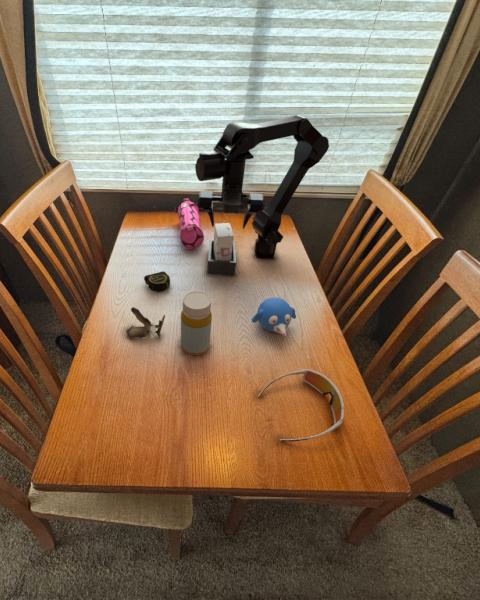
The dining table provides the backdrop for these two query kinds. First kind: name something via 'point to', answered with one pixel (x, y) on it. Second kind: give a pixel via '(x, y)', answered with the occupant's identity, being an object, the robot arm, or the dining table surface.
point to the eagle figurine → (148, 328)
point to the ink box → (223, 242)
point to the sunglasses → (324, 388)
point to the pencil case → (189, 225)
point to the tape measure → (158, 281)
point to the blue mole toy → (275, 315)
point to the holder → (221, 262)
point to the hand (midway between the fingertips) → (228, 227)
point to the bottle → (196, 322)
